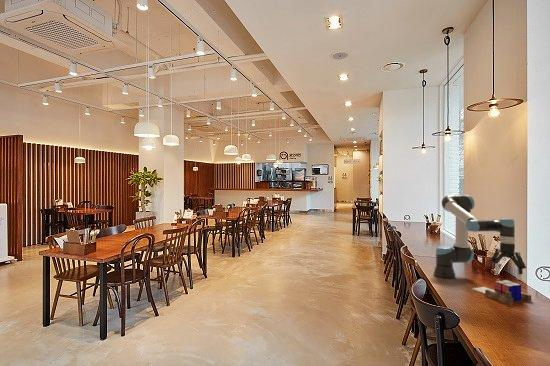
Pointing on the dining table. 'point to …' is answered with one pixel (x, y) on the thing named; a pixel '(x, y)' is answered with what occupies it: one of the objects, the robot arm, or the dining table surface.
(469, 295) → the dining table surface
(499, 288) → the puzzle cube
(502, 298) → the plane body cradle
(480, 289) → the white square panel
